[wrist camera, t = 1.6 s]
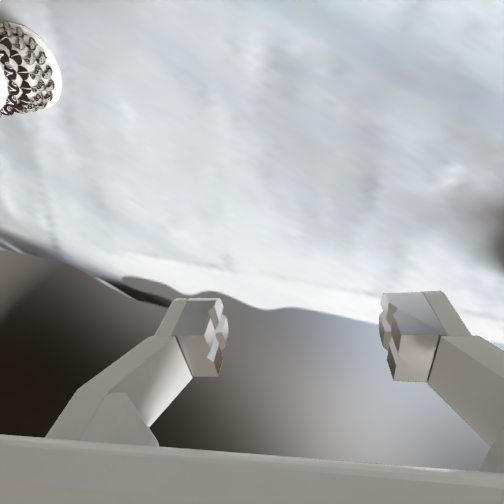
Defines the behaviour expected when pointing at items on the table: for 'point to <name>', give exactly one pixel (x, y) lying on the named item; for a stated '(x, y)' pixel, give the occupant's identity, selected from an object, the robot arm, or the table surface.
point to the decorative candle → (26, 71)
